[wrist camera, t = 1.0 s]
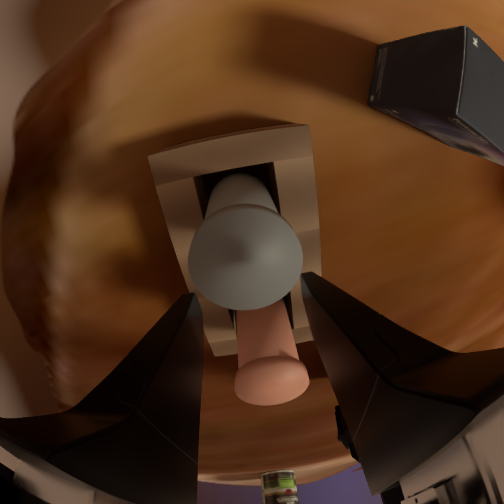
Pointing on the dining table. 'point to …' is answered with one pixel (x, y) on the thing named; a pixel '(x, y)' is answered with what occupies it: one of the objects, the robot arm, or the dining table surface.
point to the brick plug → (268, 357)
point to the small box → (444, 89)
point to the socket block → (284, 198)
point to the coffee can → (279, 487)
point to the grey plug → (244, 247)
